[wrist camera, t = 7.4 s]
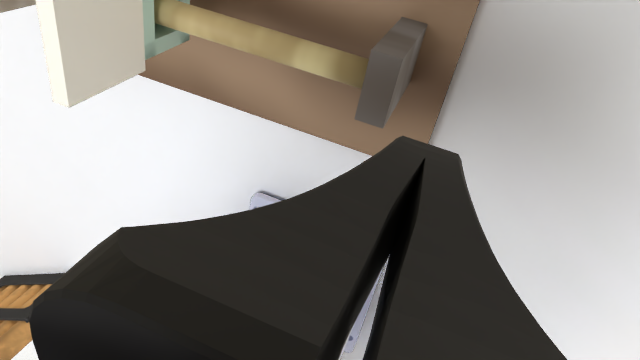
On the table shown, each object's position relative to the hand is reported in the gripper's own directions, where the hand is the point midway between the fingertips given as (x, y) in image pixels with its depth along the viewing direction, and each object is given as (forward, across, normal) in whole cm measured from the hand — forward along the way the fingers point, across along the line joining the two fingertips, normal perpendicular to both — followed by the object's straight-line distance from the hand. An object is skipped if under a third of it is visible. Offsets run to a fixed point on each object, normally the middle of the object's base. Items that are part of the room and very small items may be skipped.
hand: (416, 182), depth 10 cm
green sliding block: (+7, +12, 0) cm, 14 cm away
